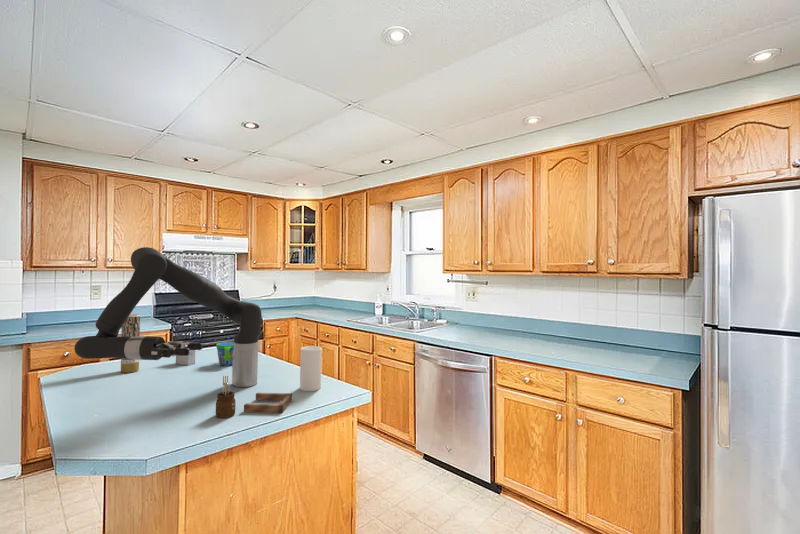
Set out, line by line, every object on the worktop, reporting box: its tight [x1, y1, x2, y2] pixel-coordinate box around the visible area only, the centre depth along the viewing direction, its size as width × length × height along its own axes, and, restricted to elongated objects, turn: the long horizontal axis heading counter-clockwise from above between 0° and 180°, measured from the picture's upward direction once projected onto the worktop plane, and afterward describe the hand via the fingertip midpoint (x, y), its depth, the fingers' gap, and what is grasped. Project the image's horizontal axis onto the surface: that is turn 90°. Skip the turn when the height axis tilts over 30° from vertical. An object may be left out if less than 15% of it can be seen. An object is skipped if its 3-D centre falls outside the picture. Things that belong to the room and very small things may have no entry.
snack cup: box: [215, 341, 234, 367], centre depth 196 cm, size 16×10×10 cm
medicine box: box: [175, 344, 196, 366], centre depth 195 cm, size 8×4×9 cm, turn 71°
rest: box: [243, 392, 293, 414], centre depth 141 cm, size 13×13×2 cm
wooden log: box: [120, 313, 141, 374], centre depth 180 cm, size 7×7×25 cm
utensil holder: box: [215, 375, 236, 419], centre depth 132 cm, size 6×6×12 cm
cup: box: [299, 345, 323, 392], centre depth 163 cm, size 8×8×16 cm
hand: (195, 349), depth 132 cm, fingers open, 8 cm apart
